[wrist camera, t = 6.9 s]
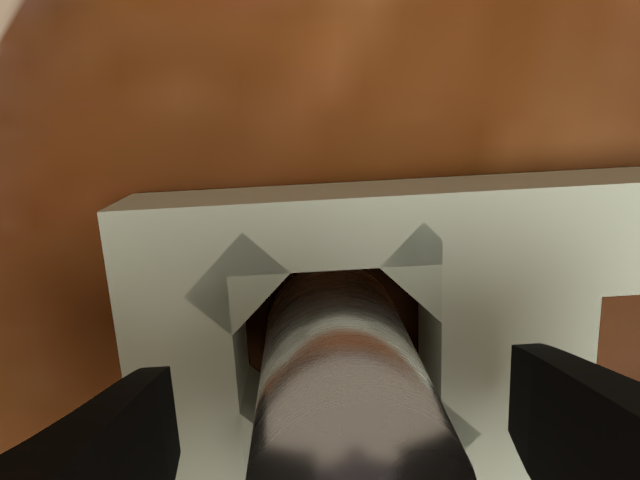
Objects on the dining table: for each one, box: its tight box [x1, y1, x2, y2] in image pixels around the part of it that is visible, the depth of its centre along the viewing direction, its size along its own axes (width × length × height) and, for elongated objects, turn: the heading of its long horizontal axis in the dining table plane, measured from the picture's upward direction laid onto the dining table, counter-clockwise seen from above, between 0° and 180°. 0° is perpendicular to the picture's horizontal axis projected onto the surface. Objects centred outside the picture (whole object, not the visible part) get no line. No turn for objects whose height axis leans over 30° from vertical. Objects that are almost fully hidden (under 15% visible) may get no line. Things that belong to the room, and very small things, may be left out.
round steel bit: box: [245, 269, 477, 480], centre depth 11 cm, size 4×4×7 cm
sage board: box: [97, 166, 640, 480], centre depth 14 cm, size 9×18×2 cm, turn 93°
